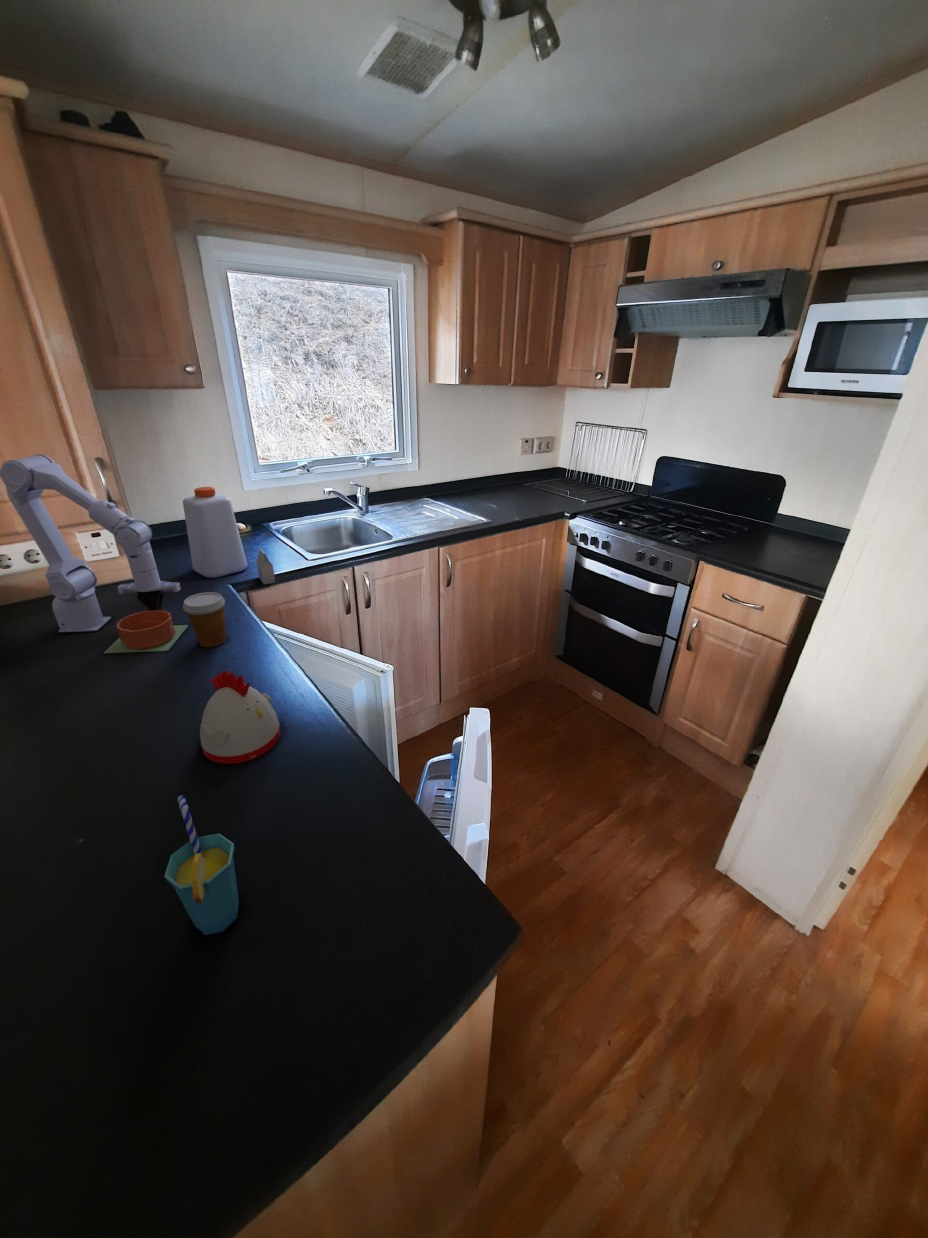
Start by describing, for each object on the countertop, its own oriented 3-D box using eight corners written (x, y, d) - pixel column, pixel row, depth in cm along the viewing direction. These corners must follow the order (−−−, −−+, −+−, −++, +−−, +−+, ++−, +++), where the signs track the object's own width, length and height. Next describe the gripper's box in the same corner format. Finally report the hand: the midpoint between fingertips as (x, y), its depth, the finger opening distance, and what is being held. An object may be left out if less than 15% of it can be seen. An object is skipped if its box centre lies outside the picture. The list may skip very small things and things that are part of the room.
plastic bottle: (252, 569, 177) (238, 488, 164) (209, 581, 167) (190, 495, 154) (231, 559, 186) (216, 481, 173) (189, 569, 176) (170, 488, 163)
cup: (173, 886, 69) (144, 806, 63) (232, 857, 74) (211, 779, 67) (195, 974, 59) (163, 890, 53) (262, 935, 64) (241, 852, 57)
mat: (103, 653, 124) (103, 652, 124) (130, 627, 137) (130, 626, 137) (167, 650, 126) (167, 650, 126) (188, 625, 138) (188, 624, 138)
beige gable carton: (263, 584, 165) (258, 555, 160) (259, 577, 170) (254, 549, 166) (275, 582, 167) (270, 553, 162) (270, 575, 172) (265, 547, 167)
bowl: (114, 652, 125) (107, 632, 122) (134, 629, 135) (128, 611, 133) (166, 649, 127) (161, 629, 124) (182, 627, 137) (177, 608, 135)
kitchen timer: (245, 771, 89) (229, 701, 82) (185, 752, 93) (165, 684, 86) (295, 725, 101) (284, 660, 94) (239, 709, 105) (225, 647, 98)
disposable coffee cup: (217, 652, 126) (207, 608, 120) (184, 648, 127) (172, 605, 122) (240, 634, 134) (231, 593, 129) (208, 631, 136) (198, 589, 130)
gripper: (179, 562, 135) (191, 608, 141) (121, 564, 133) (135, 610, 139) (168, 572, 128) (181, 620, 134) (107, 574, 127) (123, 622, 133)
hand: (157, 616), depth 136 cm, fingers closed, pressing on bowl
